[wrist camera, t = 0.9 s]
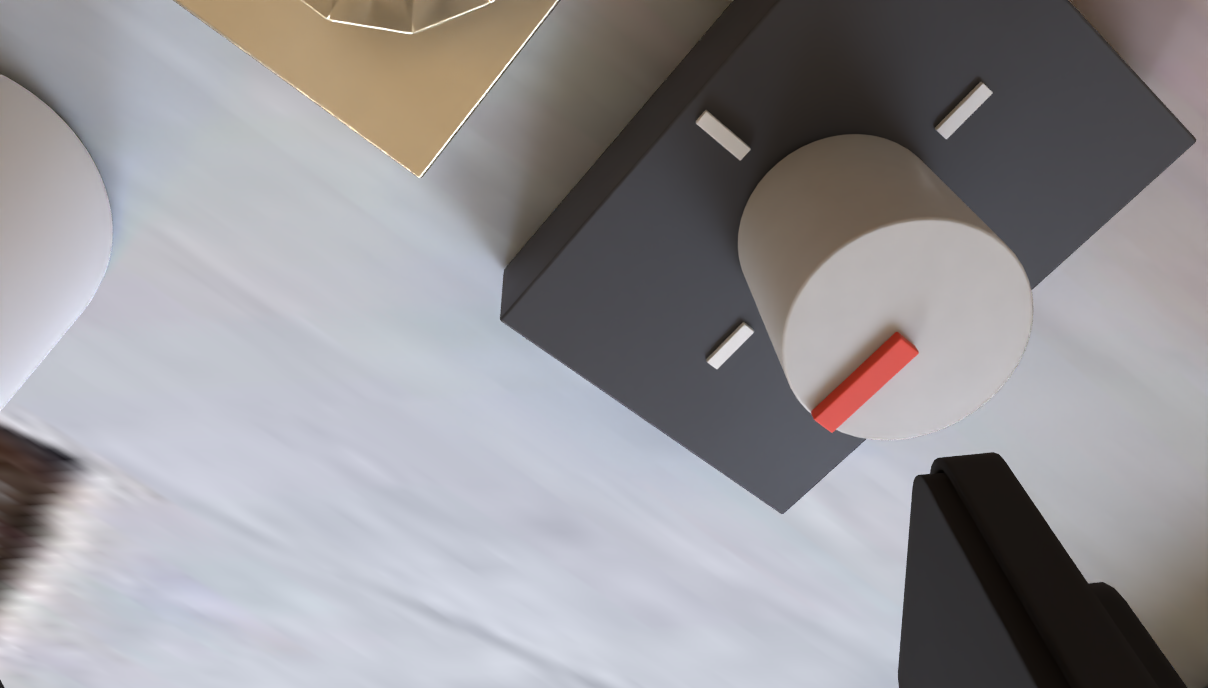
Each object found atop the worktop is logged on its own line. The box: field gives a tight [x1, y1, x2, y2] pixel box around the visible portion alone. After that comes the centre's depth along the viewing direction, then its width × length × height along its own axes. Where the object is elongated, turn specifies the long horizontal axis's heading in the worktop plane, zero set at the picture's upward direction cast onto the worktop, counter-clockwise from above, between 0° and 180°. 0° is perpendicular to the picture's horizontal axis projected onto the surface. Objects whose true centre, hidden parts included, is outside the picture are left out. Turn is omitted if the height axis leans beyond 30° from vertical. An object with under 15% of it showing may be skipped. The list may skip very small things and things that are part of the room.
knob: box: [738, 134, 1033, 440], centre depth 22 cm, size 5×5×6 cm
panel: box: [500, 0, 1196, 514], centre depth 26 cm, size 14×10×3 cm
